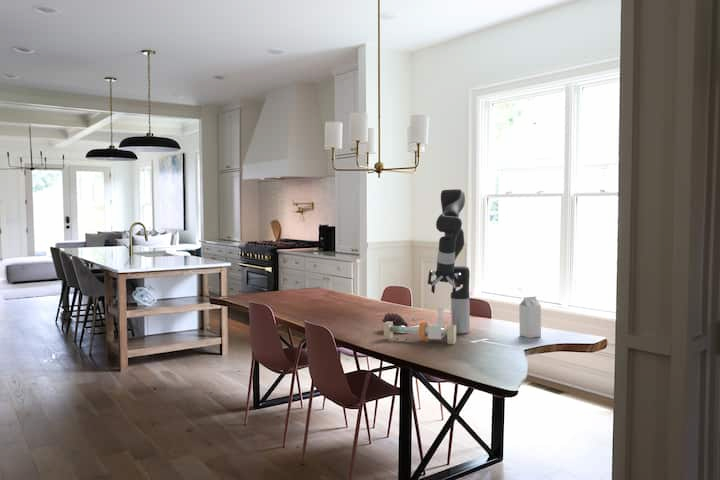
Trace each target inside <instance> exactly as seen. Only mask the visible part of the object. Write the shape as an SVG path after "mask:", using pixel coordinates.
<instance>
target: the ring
mask: <svg viewBox="0 0 720 480" xmlns="http://www.w3.org/2000/svg"><path fill="white" fill-rule="evenodd" d="M428 325H429V324H428V322H427V321H421V322H420V323H419V326H418V327H419V334H418V336H419V339H420V340H426V339H428V334H425V328H428Z"/></svg>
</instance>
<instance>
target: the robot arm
mask: <svg viewBox="0 0 720 480" xmlns="http://www.w3.org/2000/svg"><path fill="white" fill-rule="evenodd" d="M465 203H466V198H465V192H464V190H463V189H460V188H454V189H452V188H451V189H443V190H441V193H440V205H441V210H442V213H441V214H440V215H439V216H438V218H437V219H436V221H435V227H436V229H437V231H439V232H440V233H444V236H441V237H440V238H439V241H438V252H437V256H436V257H437V259H436V270H435V271H434V270H432V269H429V272H428V278H427V279H428V280H427V284H428V285H431V290H430V291H431V292H432V294H435V290H436V284H438V283H439V282H441V283H448V284H450V285H451V286H452V292H451V293H450V325H456V334H469V333H471V332H470V331H471V330H470V329H471V325H470V324H471V322H470V321H471V319H470V315H471V314H470V313H471V312H470V275H471V274H470V268H469V267H468V266H466V265H464V266H460V265H459V266H458V265H457V266H456V264H455V263H456V259H457V257H458V256H459V254H460V253H461V252H462V250H463V248H464V246H465V233H464V230H463V228H462V224H463V222H462V218H461V217H460V213H461V211H462V210H463V209H464V207H465ZM434 275H435V278H434V279H433V281H432V277H434ZM461 285H462V286H461ZM457 288H459V289H457Z"/></svg>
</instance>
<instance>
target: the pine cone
mask: <svg viewBox="0 0 720 480" xmlns="http://www.w3.org/2000/svg"><path fill="white" fill-rule="evenodd" d="M387 321H388V322H393V326H407V327H409V324H408V323H407V322H406V321H405V319H404V318H403V317H402V316H401V315H399V314H397V313H394V312H392V313H390V312H388V313H387V314H384V317H383V319H382V320H381V322H382V323H383V324H384V323H385V322H387Z"/></svg>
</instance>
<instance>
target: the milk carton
mask: <svg viewBox="0 0 720 480" xmlns="http://www.w3.org/2000/svg"><path fill="white" fill-rule="evenodd" d="M518 305H519V306H518V307H519V308H518V309H519V311H518V312H519V336H521V337H524V338H527V339H530V338H539V337H541V336H542V318H541V317H542V313H541V312H542V307H541V304H540V302H539V301H538V300H537V296H527V297H526V296H525V297H523V300H522V301H521V303H520V304H518Z"/></svg>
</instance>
